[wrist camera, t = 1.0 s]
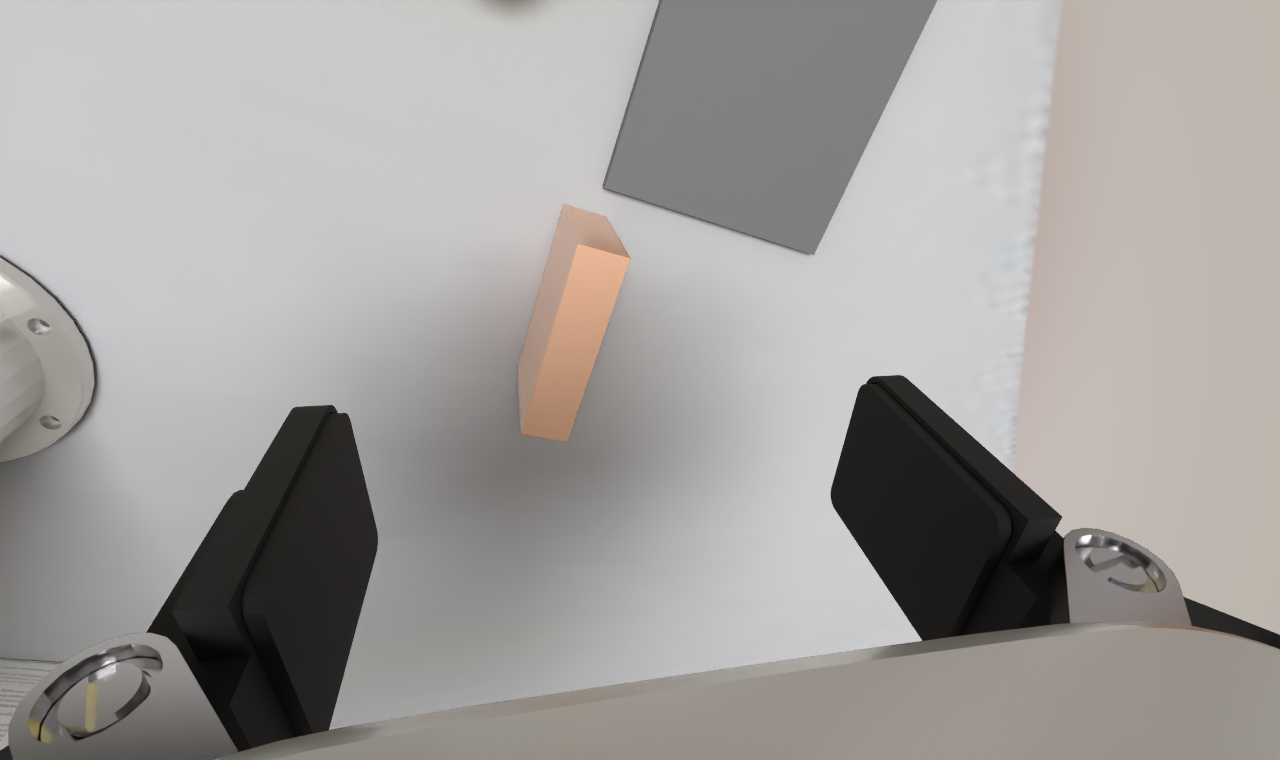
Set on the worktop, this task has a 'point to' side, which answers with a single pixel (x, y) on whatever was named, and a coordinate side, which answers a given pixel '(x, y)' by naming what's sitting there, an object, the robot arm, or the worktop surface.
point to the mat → (761, 108)
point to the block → (569, 322)
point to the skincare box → (17, 687)
